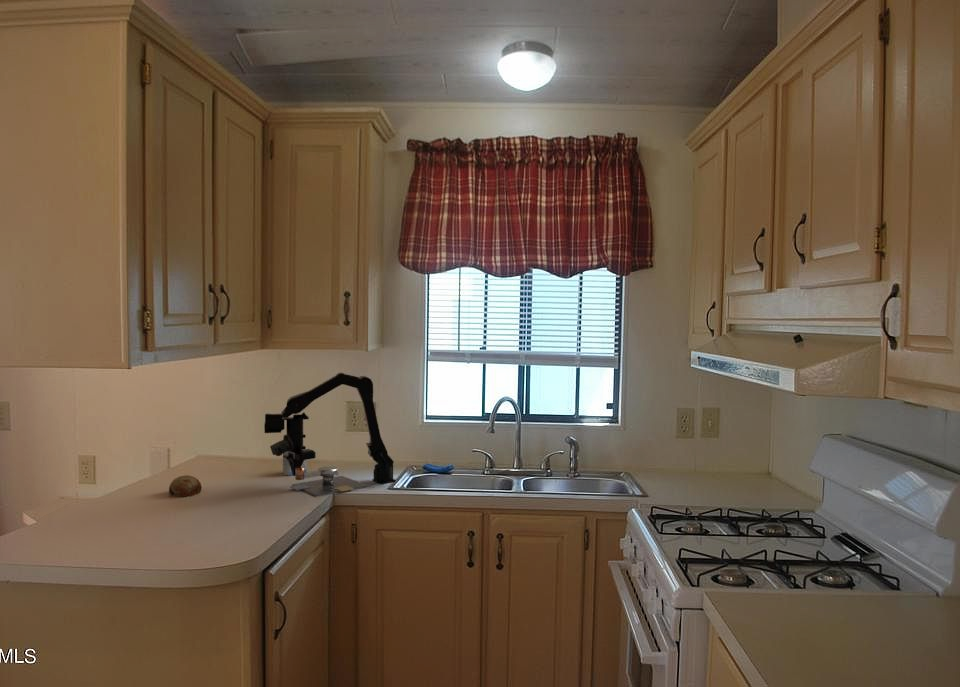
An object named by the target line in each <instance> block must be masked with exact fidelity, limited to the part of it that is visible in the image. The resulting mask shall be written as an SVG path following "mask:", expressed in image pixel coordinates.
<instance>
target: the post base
mask: <svg viewBox="0 0 960 687" xmlns="http://www.w3.org/2000/svg"><path fill="white" fill-rule="evenodd" d="M289 488H291V489H292V490H295V491H300V490H301V491H302V492H304V493H307V494H309V495H312V496H313V497H315V498H317V497H321V496H323V497H324V496H327V495H332V494H338V493H342V492H347V491H353V490H357V489H359V490H360V489H363V488H368V484H365V483H363V482H359V481H357V480H354V479H352V478H349V477H346V476H343V475H337V476H329V477H324V476H322V479H316V480H315V479H314V480H310V481H303V482H299V483H293V484H291V485H290V486H289Z"/></svg>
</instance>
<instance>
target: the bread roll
mask: <svg viewBox="0 0 960 687" xmlns="http://www.w3.org/2000/svg"><path fill="white" fill-rule="evenodd" d="M201 492H202V483H201V482H200V480H199V479H198V478H197V477H195V476H192V475H188V474H187V475H180V476H178V477H175V478H174V479H173V480H172V481H171V483H170V485H169V487H168V493H169V494H168V496H169V497H173V496H175V497H174V498H187V496H189V497H193V496H195V494H196V495H198V494H200V493H201Z"/></svg>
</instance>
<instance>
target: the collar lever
mask: <svg viewBox="0 0 960 687" xmlns="http://www.w3.org/2000/svg"><path fill="white" fill-rule="evenodd" d="M323 476H324V477H329V476H334V477H336V476H339V467H338V466H337V467H336V466H323V467H319V468H318V469H317V470H312V471H306V472H304V467H296V468H295V476H294V477H295V480H296V481H302V480H305V479H309V478H314V477H315V478H316V477H323Z"/></svg>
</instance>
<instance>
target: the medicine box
mask: <svg viewBox="0 0 960 687" xmlns="http://www.w3.org/2000/svg"><path fill="white" fill-rule="evenodd" d="M283 456H285V453H283V454H282V474H283V475H284V476H289V477H292V476H293V474H292V471H291V468H290V464H289V462H288V460H287V459H286V458H284V457H283ZM301 467H304V472H307V460H304V462H303V464H302V466H301Z"/></svg>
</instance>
